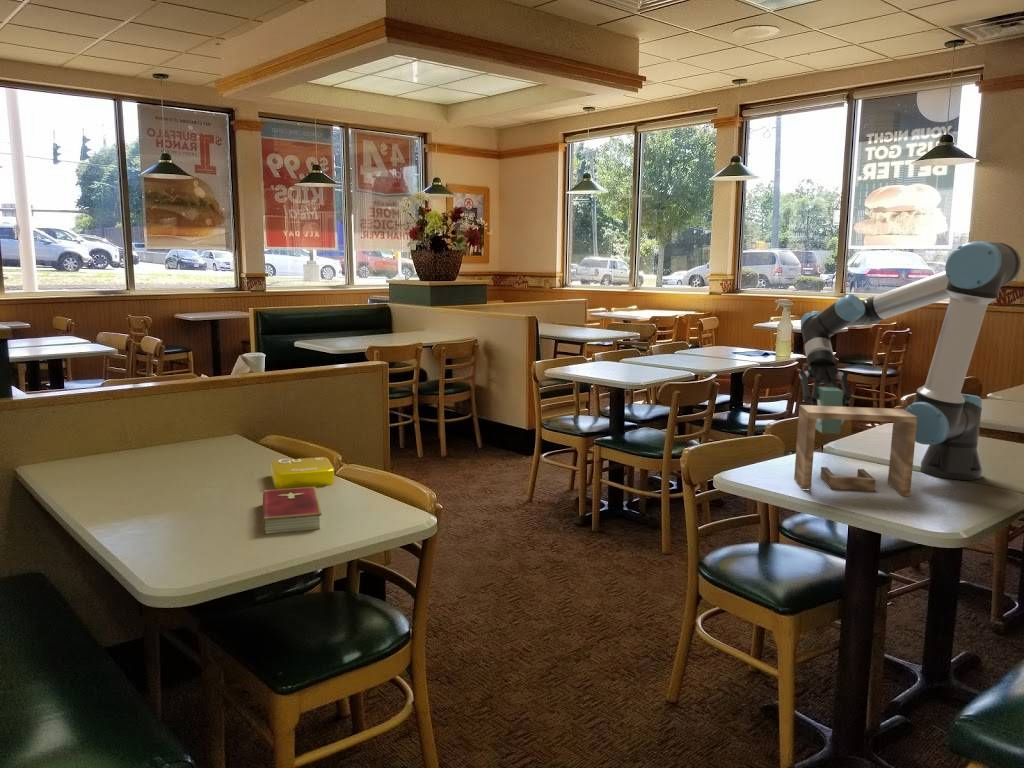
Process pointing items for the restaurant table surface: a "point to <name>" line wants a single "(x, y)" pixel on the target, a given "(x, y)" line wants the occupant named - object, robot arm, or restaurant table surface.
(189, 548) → the restaurant table surface
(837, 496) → the restaurant table surface
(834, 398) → the green rectangular block
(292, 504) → the hardcover book
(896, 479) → the wooden arch
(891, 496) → the restaurant table surface
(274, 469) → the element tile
